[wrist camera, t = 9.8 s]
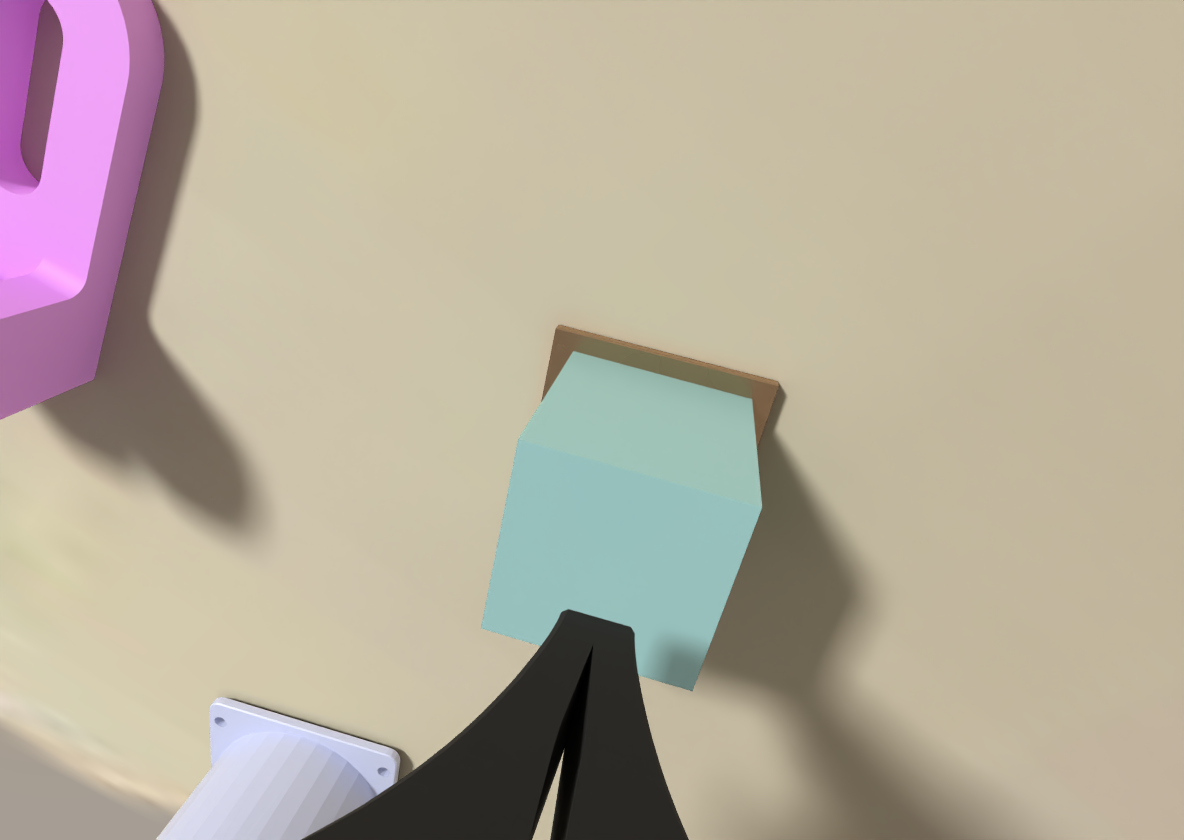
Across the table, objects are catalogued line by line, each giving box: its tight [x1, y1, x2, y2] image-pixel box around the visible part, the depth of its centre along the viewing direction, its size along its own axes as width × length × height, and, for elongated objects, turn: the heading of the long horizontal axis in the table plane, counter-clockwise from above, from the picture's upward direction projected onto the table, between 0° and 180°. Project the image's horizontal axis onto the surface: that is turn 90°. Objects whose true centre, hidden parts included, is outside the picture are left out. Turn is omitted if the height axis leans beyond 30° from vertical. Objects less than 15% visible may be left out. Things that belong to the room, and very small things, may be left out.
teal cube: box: [481, 351, 762, 691], centre depth 19 cm, size 5×5×6 cm
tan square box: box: [541, 325, 779, 447], centre depth 20 cm, size 6×6×4 cm
